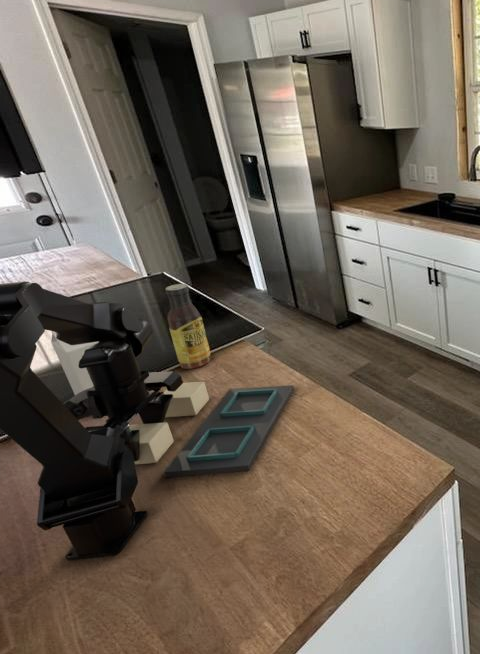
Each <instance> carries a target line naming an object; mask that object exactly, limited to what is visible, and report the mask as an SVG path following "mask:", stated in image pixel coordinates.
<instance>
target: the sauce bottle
mask: <svg viewBox="0 0 480 654" xmlns="http://www.w3.org/2000/svg"><path fill="white" fill-rule="evenodd" d="M189 291H190V289H189V285H188V284H187V283H177V284H172V285H169V286H166V287H165V294H166V295H167V297H168V301H169V306H170V309H169V311H168V313H167V319H166V320H167V323H168V329H169V334H170V336H171V341H172V343H173V348H174V350H175V355H176V358H177V361H178V363H179V366H180V368H181V369H184V370H193V369H197V368H201V367H203V366H205V365H206V364H208V363H209V362H210V360H211V358H212V356H211V349H210V345H209V341H208V337H207V333H206V329H205V325H204V322H203V317H202V315H201V314H200V312H199V311H198V309H197V308H196V306H195V305H194V304H193V302H192V299H191V297H190V293H189Z"/></svg>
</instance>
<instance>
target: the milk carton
mask: <svg viewBox="0 0 480 654" xmlns="http://www.w3.org/2000/svg"><path fill="white" fill-rule="evenodd" d="M50 343H51V345H52V347H53V349H54V351H55V354H56V356H57V358H58V361H59V363H60V365H61V367H62V369H63V372H64V374H65V376H66V379H67V381H68V383H69V385H70V387H71V390H72V392H73V394H74V396H75V395H76V394H78V393H80V392H82V391H84V390H86V389H89V388H92V387H93V386H94V385H93V383H92V381H91V378H90V376H89V374H88V371H87V369H86V368H79V367H78V365H79V361H80V359H81V358H82V356H83V354H84V351H85V350H86V349H89V348H90V347H91V346H93V345H95V344H97V343H99V341H98V342H92V343H85V344H79V345H69V344H67V343H65V342H62V341H60V340H58V339H56V332H54V331H51V340H50Z"/></svg>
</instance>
